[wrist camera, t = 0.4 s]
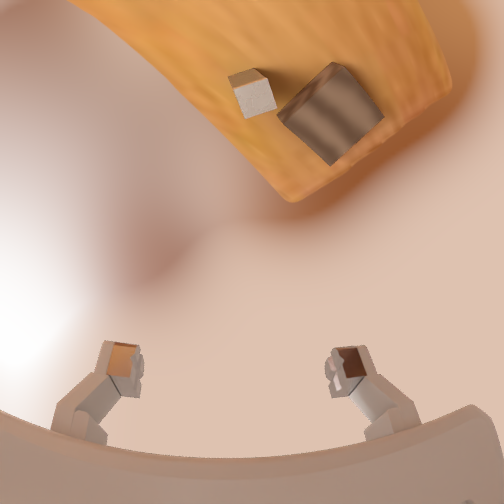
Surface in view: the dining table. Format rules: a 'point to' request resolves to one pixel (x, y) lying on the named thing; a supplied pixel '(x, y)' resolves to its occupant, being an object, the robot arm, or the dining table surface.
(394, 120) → the dining table surface
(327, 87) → the walnut box
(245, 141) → the dining table surface
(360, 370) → the robot arm
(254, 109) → the slate tin
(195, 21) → the dining table surface
